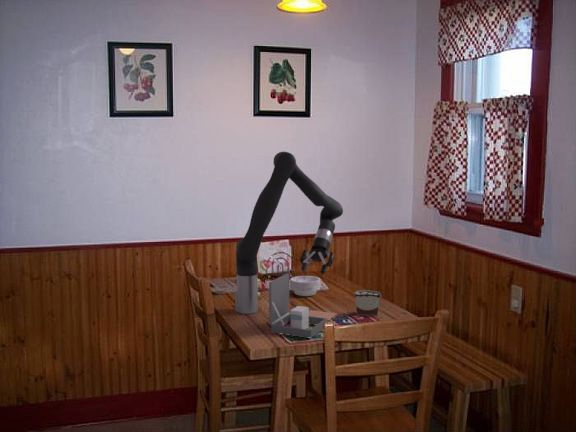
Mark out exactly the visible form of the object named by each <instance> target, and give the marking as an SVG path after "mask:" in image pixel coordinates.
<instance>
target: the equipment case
mask: <svg viewBox="0 0 576 432" xmlns="http://www.w3.org/2000/svg"><path fill="white" fill-rule="evenodd" d="M268 284H269V285H268V286H269V287H268V289H269V290H268V293H269V295H268V297H269V299H268V303H269V305H268V306H269V307H268V310H269V313H268V314H269V316H268V317H269V318H268V319H269V322H268V323H269V325H270V332H271V333H270V334H274V333H283V334H289V335H295V336H303V337H312V336H314V335H315V334H317V333H318V332H319V331H321V330H322V328H323V324H324V323H326V322H327V318H320V317H313V316H309V323H310V324H317V325H314V326H313V327H311V329H309V328H308V329H301V328H294V327H291V326H287V324H286V323H288V322H289V323H291V322H290V321H291V319H290V314H291V312H290V272H287V273H285V274H282V275H281V276H279V277H278V278H275V279H273V280H270V281H269V282H268ZM289 323H288V324H289ZM327 323H328V322H327ZM285 324H286V325H285ZM284 325H285V326H284ZM322 331H323V330H322ZM322 331H321V332H322ZM318 334H319V333H318ZM318 334H317V335H318Z"/></svg>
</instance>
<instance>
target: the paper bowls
mask: <svg viewBox="0 0 576 432" xmlns="http://www.w3.org/2000/svg"><path fill="white" fill-rule="evenodd" d="M321 285H322V284H321V278H320V277H318V276H311V275H296V276H292V277H291V278H289V290H291V291H293V292H294V294H295V295H296V296H299V297H311V296H315V295H316V293H317V291H319V290H321Z"/></svg>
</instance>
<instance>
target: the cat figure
mask: <svg viewBox="0 0 576 432" xmlns="http://www.w3.org/2000/svg"><path fill="white" fill-rule="evenodd" d="M257 280H258V289H260V288H261V290H260V291H258V300H260V299H262V296H261V292H263V291H264V290H265V289H266V285H265V283H264V282H262V281H261V279H260V278H257Z"/></svg>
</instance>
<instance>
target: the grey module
mask: <svg viewBox="0 0 576 432" xmlns="http://www.w3.org/2000/svg"><path fill="white" fill-rule="evenodd" d="M309 311H310V310H309V306H301V305H296V306H295V307H293V308H292V309H291V310H290V313H291V314H290V319H291V322H290V327H294V328H301V329H306V328H307V327H309ZM309 328H310V327H309Z"/></svg>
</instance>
